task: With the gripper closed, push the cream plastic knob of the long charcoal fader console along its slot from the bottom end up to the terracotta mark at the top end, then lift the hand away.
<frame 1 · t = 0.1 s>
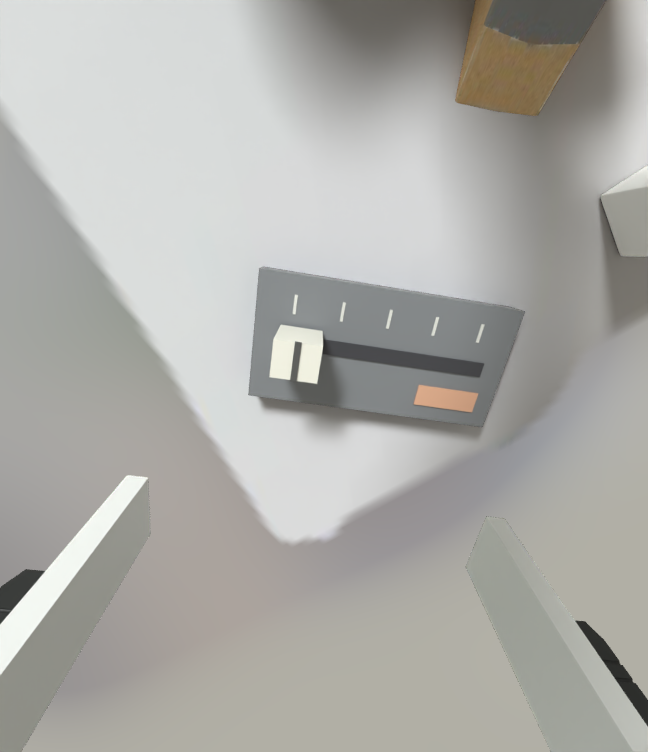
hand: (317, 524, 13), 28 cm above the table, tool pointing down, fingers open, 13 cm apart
fader console: (376, 347, 39), on the table
sandwich container: (521, 6, 29), on the table
fader knob: (297, 352, 33), point 7 cm above the table, slide at 0.0 cm
milk carton: (641, 206, 35), on the table
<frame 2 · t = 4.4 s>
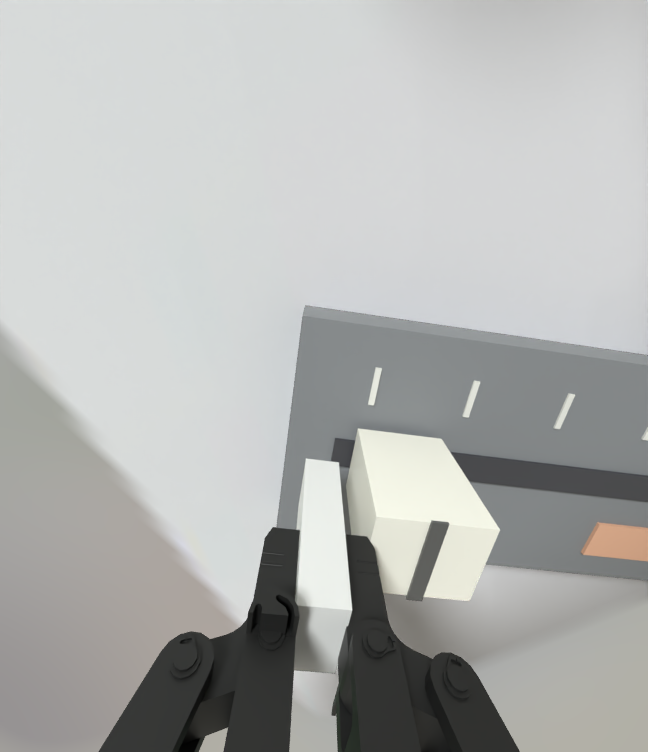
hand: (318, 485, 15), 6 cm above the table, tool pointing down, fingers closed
fader console: (507, 445, 22), on the table
fader knob: (406, 503, 15), point 7 cm above the table, slide at 0.7 cm, touching gripper
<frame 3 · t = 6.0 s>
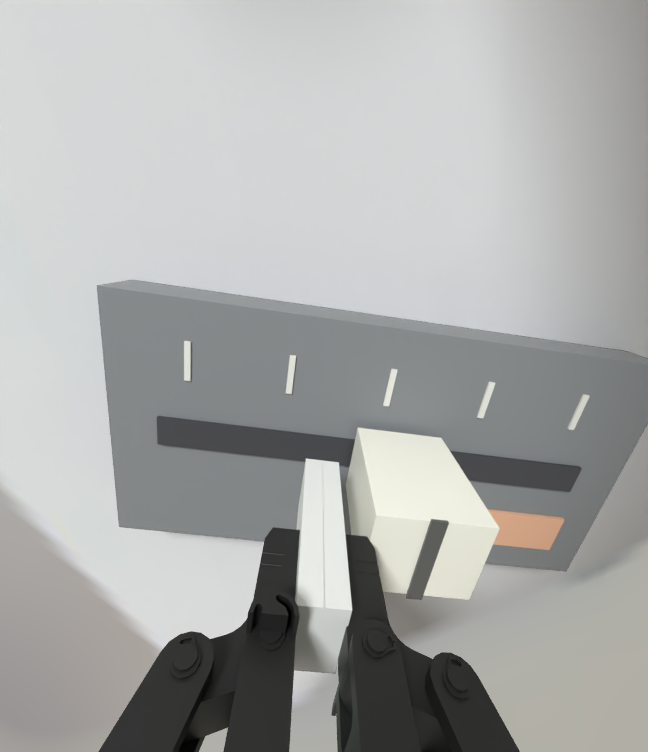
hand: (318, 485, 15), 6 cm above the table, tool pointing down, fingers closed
fader console: (367, 427, 21), on the table
fader knob: (406, 502, 15), point 7 cm above the table, slide at 9.9 cm, touching gripper
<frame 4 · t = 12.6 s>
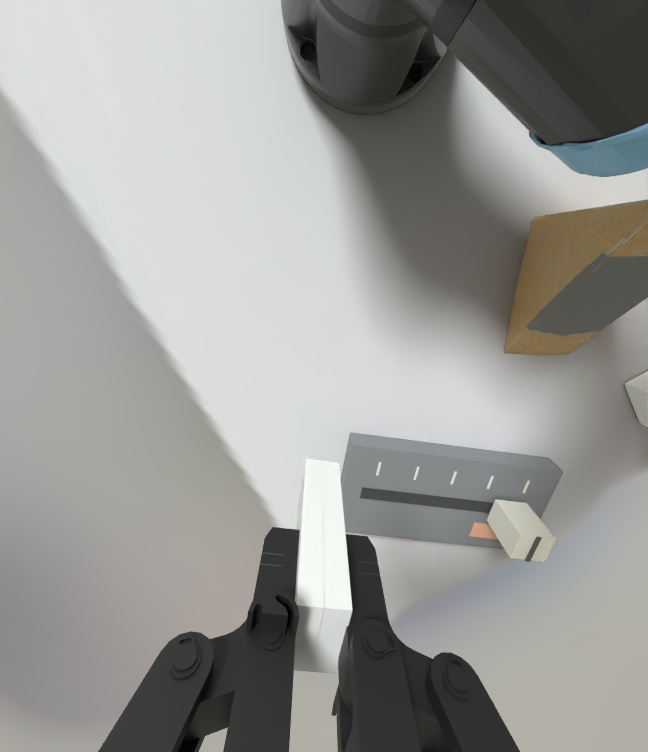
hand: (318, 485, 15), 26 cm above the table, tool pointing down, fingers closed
fader console: (437, 487, 48), on the table
sandwich container: (549, 290, 39), on the table
fader knob: (519, 529, 42), point 7 cm above the table, slide at 17.4 cm
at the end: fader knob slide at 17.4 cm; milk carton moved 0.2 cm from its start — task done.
